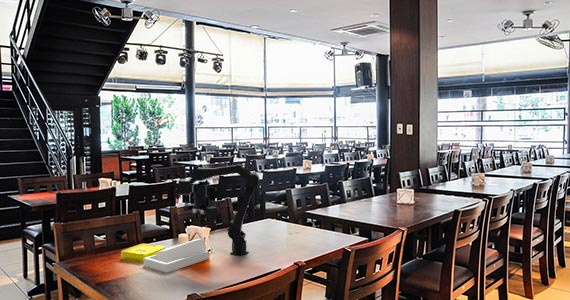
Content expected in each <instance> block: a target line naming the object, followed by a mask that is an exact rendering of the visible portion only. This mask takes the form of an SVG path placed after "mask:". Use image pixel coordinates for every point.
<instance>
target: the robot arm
mask: <svg viewBox="0 0 570 300" xmlns="http://www.w3.org/2000/svg"><path fill="white" fill-rule="evenodd" d="M232 174H237V175H238V176H240V177H241V178H242V179H243V180H245V186H244V187H245V188H244V193H243V195H242V198H241V201H240V204H239V207H238V210H237V213H236V215H235V218H234V219H231V220H230V222H229V226H228V227H227V230H226V231H227V236H228V237H229V239H231V240H232V241H231V252H230V253H229V254H230V255H234V256H238V257H241V256H243V255H246V254H249V253H250V252H249V251H247V240H246V236H247V234H246V233H245V232H244V231H243V230H242V229H243V223H244V222H243V221H244V218H245V216H246V212H247V210H248V206H249V204H250V201H251V198H252V195H253V193H254V191H255V189H256V188H257V186H258V184H259V182H260V176H259V174H258V173H256V172H252V171H251V170H249V169H247V168H246V167H244V166H243V165H242V164H239V163H238V164H234V165H228V166H220V167H198V168H195V169H194V170H193V171H192V177H191V178H190V179H189V180H183V179H182V180H178V184H177V188H176V189H177V190H176V191H177V195H178V196H190V195H192V193H193V195H194V196H192V197H191V198H192V200H193V201H194V203H188V204H185V205H184V206H183V212H187V213H188V212H189V211H190V210H192V212H191V215H192V216H193V217H194V218H195V221H196V222H197V224H198V226H199V228H203V227H204V224H205V221H206V218H207V216H211V215H216V214H219V211H220V210H219V208H218V207H217V203H218V201H216V200H213V199H210V197H209V196H208V195H207V193H208V192H207V186H210V185H211V182H210V181H208V180H209V179H210V178H213V177H219V176H224V175H232ZM203 180H204V181H203ZM196 182H197V183H196Z"/></svg>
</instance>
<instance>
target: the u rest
mask: <svg viewBox="0 0 570 300" xmlns="http://www.w3.org/2000/svg"><path fill="white" fill-rule="evenodd" d="M209 255H210V254H209V251H208V250H206V251H204V252H201V253H197V254H194V255H191V256H188V257H185V258H181V259H178V260H175V261H172V262H168V263H165V262H162V261H158V260H157V256H156V255H153V256H149V257H146V258H143V259H144V263H143V267H146V268H150V269H153V270H156V271H160V272H162V273H165V274H166V273H170V272H174V271H176V270H179V269H182V268H184V267H188V266H192V265H195V264H196V263H197V264H198V263H201V262H203V261H206V260H209V259H210V257H209Z"/></svg>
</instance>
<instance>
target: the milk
mask: <svg viewBox="0 0 570 300" xmlns="http://www.w3.org/2000/svg"><path fill="white" fill-rule="evenodd" d="M204 251H207V247H206V243H205V238H197V239H193V240H189V241H186V242H184V243H180V244H178V245H177V244H176V245H174V246H171V247H167V248H165V249H164V250H160V251H159V252H157V253H156V256H157V260H158V261H162V262H165V263H168V262H172V261H175V260H178V259H181V258H185V257H188V256H191V255H194V254H197V253H201V252H204Z"/></svg>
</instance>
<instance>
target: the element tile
mask: <svg viewBox="0 0 570 300" xmlns="http://www.w3.org/2000/svg"><path fill="white" fill-rule="evenodd" d="M164 249H166V248H165V245H158V244H157V245H156V244H150V243H139V244H137V245H134V246H130V247H128V248H125V249H122V250H121V251H120V254H121V257H120V259H121V260H123V261H129V262H134V263H141V264H144V259H143V258H146V257H149V256H153V255H156V253H157V252H159V251H160V250H164Z"/></svg>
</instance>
